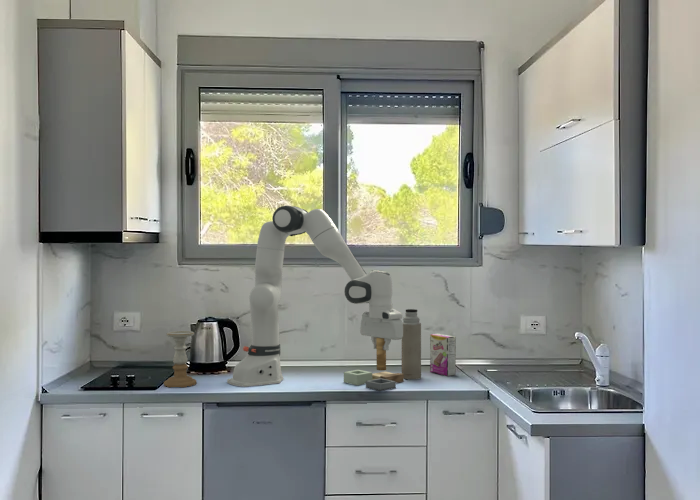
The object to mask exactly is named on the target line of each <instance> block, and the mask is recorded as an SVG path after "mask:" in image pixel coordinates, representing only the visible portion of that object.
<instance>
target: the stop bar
mask: <svg viewBox="0 0 700 500" xmlns="http://www.w3.org/2000/svg"><path fill="white" fill-rule="evenodd" d="M380 378H382V379H387V380H391V381H396V384H399V383H404V382H405V379H404V374H402V372H401V373H400V372H396V373H395V374H389V375H383V376H380Z"/></svg>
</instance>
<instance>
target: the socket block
mask: <svg viewBox="0 0 700 500" xmlns="http://www.w3.org/2000/svg"><path fill="white" fill-rule="evenodd" d="M372 374H373V372H372V371H367V370H362V369H354V370H349V371H344V372H343V383H344V384H345V383H346V384H350V385H354V386H362V385H366V381H369V380H372Z"/></svg>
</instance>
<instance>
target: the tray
mask: <svg viewBox="0 0 700 500" xmlns="http://www.w3.org/2000/svg"><path fill="white" fill-rule="evenodd" d="M396 385H397V383H396V381H391V380H387V379H382V378H380V379H374V380H369V381H366V384H365V388H366V389H370V390H373V391H378V392H383V391H387V390H392V389H396V387H397V386H396Z"/></svg>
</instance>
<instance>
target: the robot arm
mask: <svg viewBox="0 0 700 500" xmlns="http://www.w3.org/2000/svg"><path fill="white" fill-rule="evenodd" d="M271 219H272V220H270V221H266V222H264V223H263V224H262V225H261V228H260V231H259V235H258V239H257V245H256V246H257V247H256V253H255V265H254V269H255V271H254V273H255V274H254V276H255V277H254V279H255V280H254V286H253V288H252V289H251V291H250V293H249V311H250V321H251V322H250V323H251V344H250V345H249V346H246V345H244V346H243V352H246V353H247V355H246V356H245V357H243V359H241V361H239V362H238V363H237V364H236V365H234V369H233V373H232V377H231V378H228V379H227V380H226V383H227V384H228V385H229V384H230V385H232V386H236V387H244V388H245V387H246V388H247V387H248V388H249V387H255V386H264V385H273V384H281V381H283V380H284V376H283V372H282V367H281V359H280V357H281V344H280V320H279V303H280V301H281V299H282V298H281V297H282V283H283V268H284V267H283V266H284V258H285V248H286V247H285V246H286V240H287V238H288V237H295V236H299V235H303V234H307V235H308V237H309V238H310V240H311V242H312V244H313V245H314V246H315V248H316V250H318V252H319V253H320V254H321V255H322V256H324V257H326V258H328V259H330V260H333V261H334V262H336V263H338V264H339V265H340V266H341V267H342V268H343V270H344V271H345V273H346V275H347V276H348V277H349V278H350V280H349V281H348V282H347V283H346V285H345V287H344V296H345V298H346V300H347V301H348V302H350V303H351V304H354V305H361V304H368V311H364V312H363V313H362V315H361V321H360V328H359V329H360V330H359V331H360V334H361V336H365V337H371V339H370V340H371V342H372V344H373V349H374V350H376V338H377V337H378V338H384V341H386V342H385V344H384V345H383V350H386V351H389V349H390V347H389V346H390V345H391V342H392V340H393V341H398V340H402V337H403V313H402V312H400V311H399V310H397V309H395V308H393V302H392V296H393V280H392V275H391V274H390V273H389V272H388V271H385V270H378V269H372V270H370V272H368V273H367V272H366V271H365V270H364V268H363V267H362V265H361V264H360V262H359V261H358V260H357V258H356V257H355V255H354V254H353V252H352V251H351V249H350V247H349V246H348V245H347V243H346V241H345V240H344V237H343V235H342V234H341V232H340V230H339V229H338V227H337V225H336V224H335V223H334V221H333V219H332V218H331V217H329V214H327V213H326V212H325V211H324V210H323V209H322V208H321V209H320V208H314V209H311V210H310V211H307V210H306V209H304V208H301V207H300V206H299V207H298V206H296V205H295V206H293V205H282V206H279V207H277V208H276V209H275V211H274V212H273V214H272V218H271Z"/></svg>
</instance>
